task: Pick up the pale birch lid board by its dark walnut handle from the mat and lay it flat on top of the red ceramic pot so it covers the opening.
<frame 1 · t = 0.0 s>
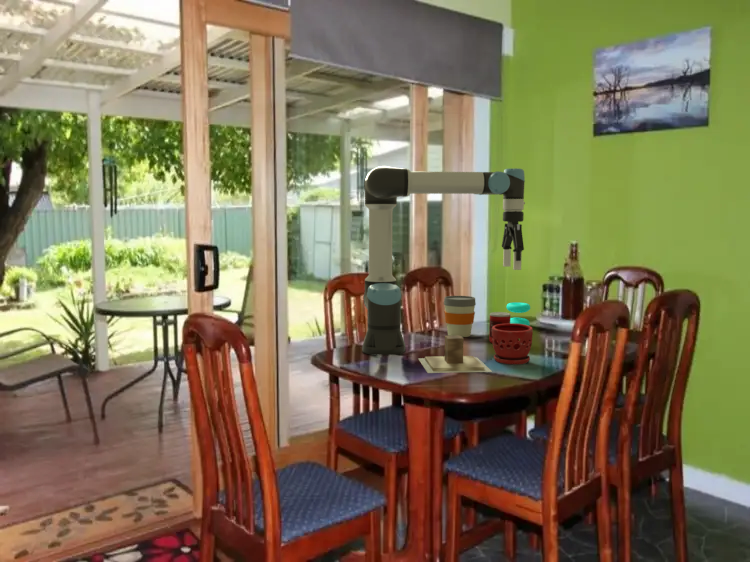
hand: (511, 268, 253), 28 cm above the table, fingers open, 13 cm apart
donuts: (517, 327, 290), on the table
lid: (453, 364, 217), resting on mat
plant pot: (511, 363, 222), on the table
canned food: (499, 343, 255), on the table
mat: (453, 366, 217), on the table
reusable coffee cup: (459, 335, 270), on the table
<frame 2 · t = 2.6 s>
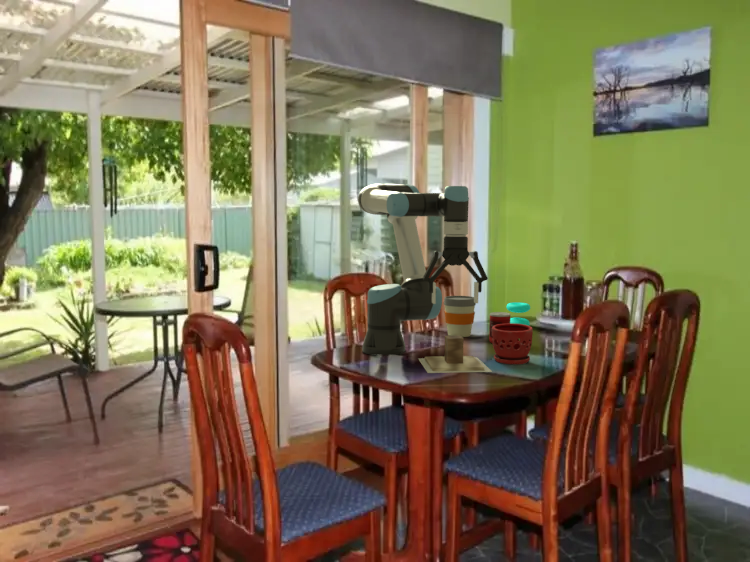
hand: (454, 303, 214), 20 cm above the table, fingers open, 13 cm apart
nothing on the table moved.
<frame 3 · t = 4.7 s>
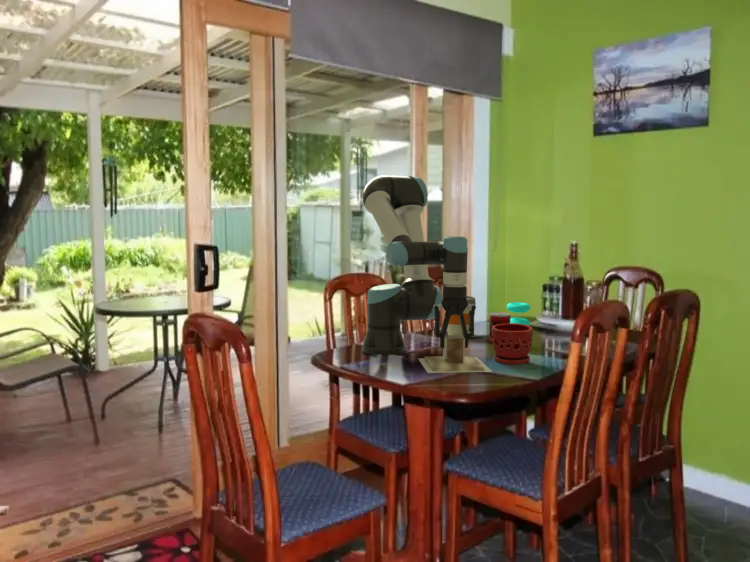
hand: (453, 357, 216), 3 cm above the table, fingers closed on lid, 5 cm apart
lid: (453, 364, 217), point 1 cm above the table, touching gripper, mat
everything else where it was.
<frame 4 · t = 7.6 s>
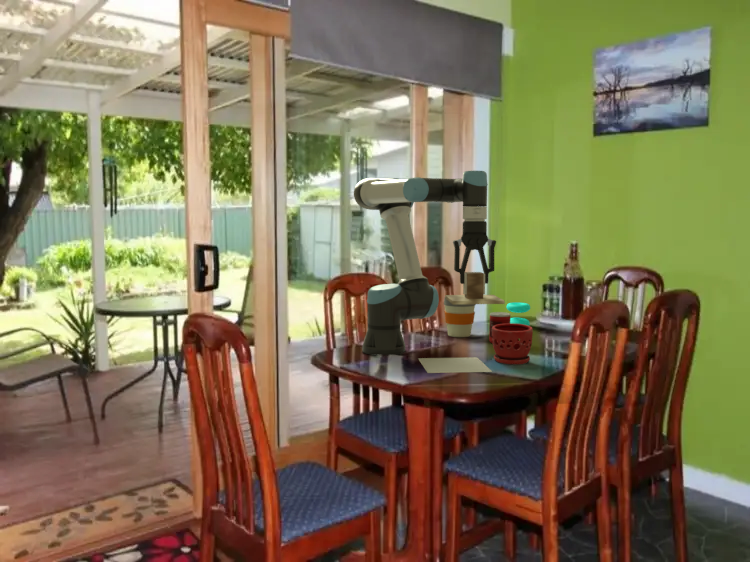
hand: (474, 293, 215), 23 cm above the table, fingers closed on lid, 5 cm apart
lid: (473, 300, 216), point 21 cm above the table, touching gripper
everything else where it was.
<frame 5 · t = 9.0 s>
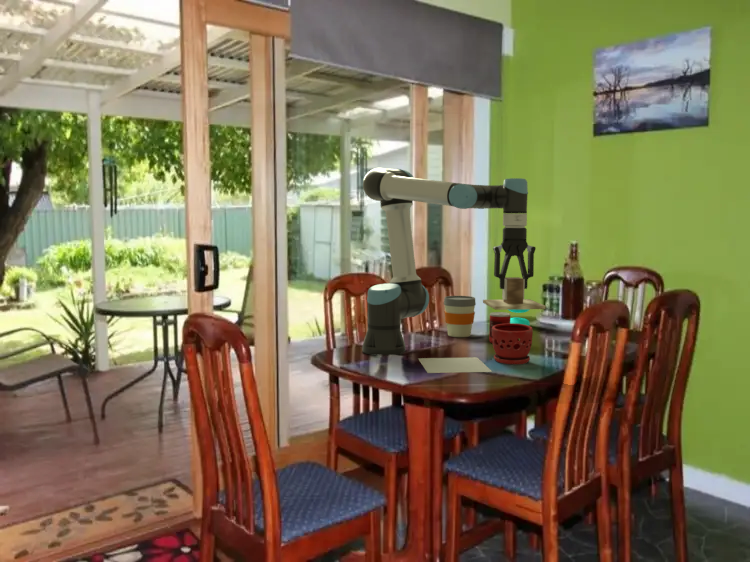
hand: (513, 298, 220), 21 cm above the table, fingers closed on lid, 5 cm apart
lid: (513, 305, 220), point 19 cm above the table, touching gripper
everything else where it was.
when the fingers open (16 cm above the table, at t = 10.3 s): lid drops 2 cm, resting on plant pot.
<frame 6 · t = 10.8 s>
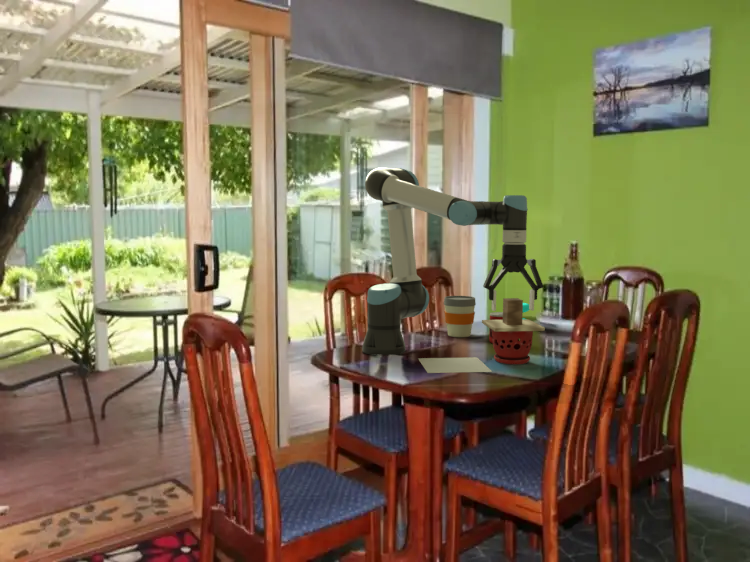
hand: (512, 310, 220), 17 cm above the table, fingers open, 12 cm apart
lid: (512, 326, 221), point 12 cm above the table, touching plant pot
plant pot: (511, 363, 222), on the table, touching lid
everything else where it was.
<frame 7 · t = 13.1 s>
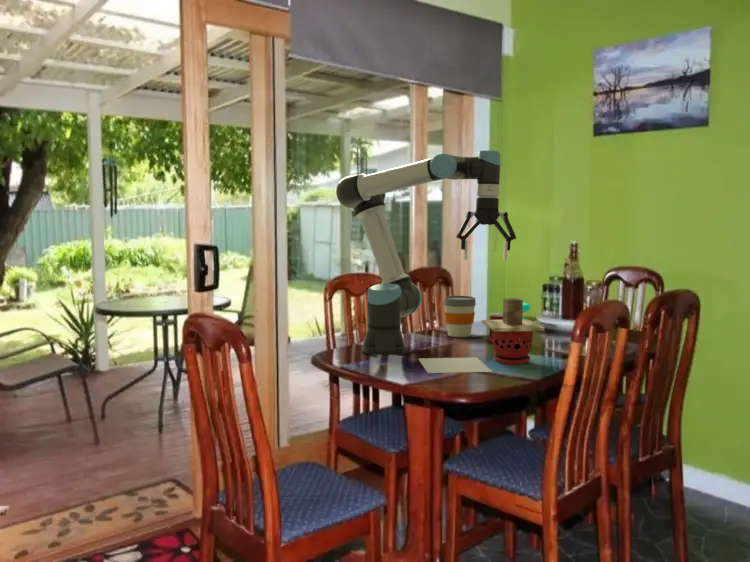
hand: (485, 259, 232), 33 cm above the table, fingers open, 13 cm apart
nothing on the table moved.
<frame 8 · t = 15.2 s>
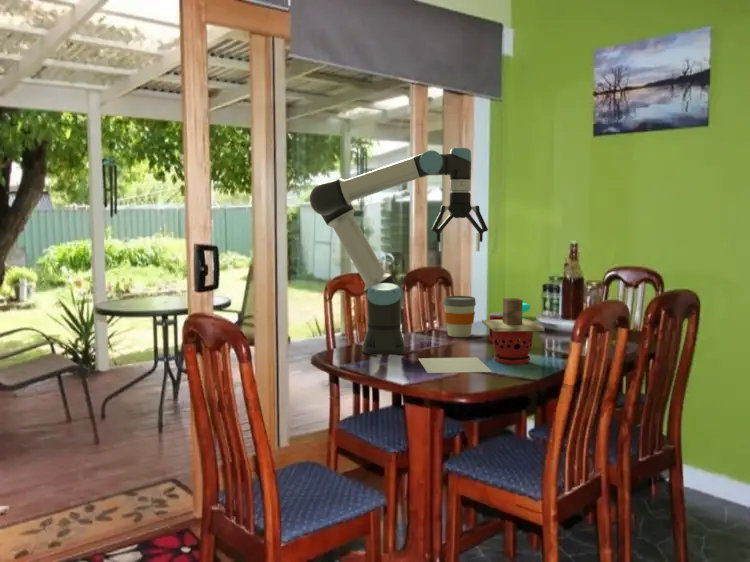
hand: (459, 251, 245), 35 cm above the table, fingers open, 13 cm apart
nothing on the table moved.
at the end: lid inside the target area on the plant pot (0.1 cm from its centre), point 12.1 cm above the plant pot's base; lid tilted 0°; the gripper is holding nothing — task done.
